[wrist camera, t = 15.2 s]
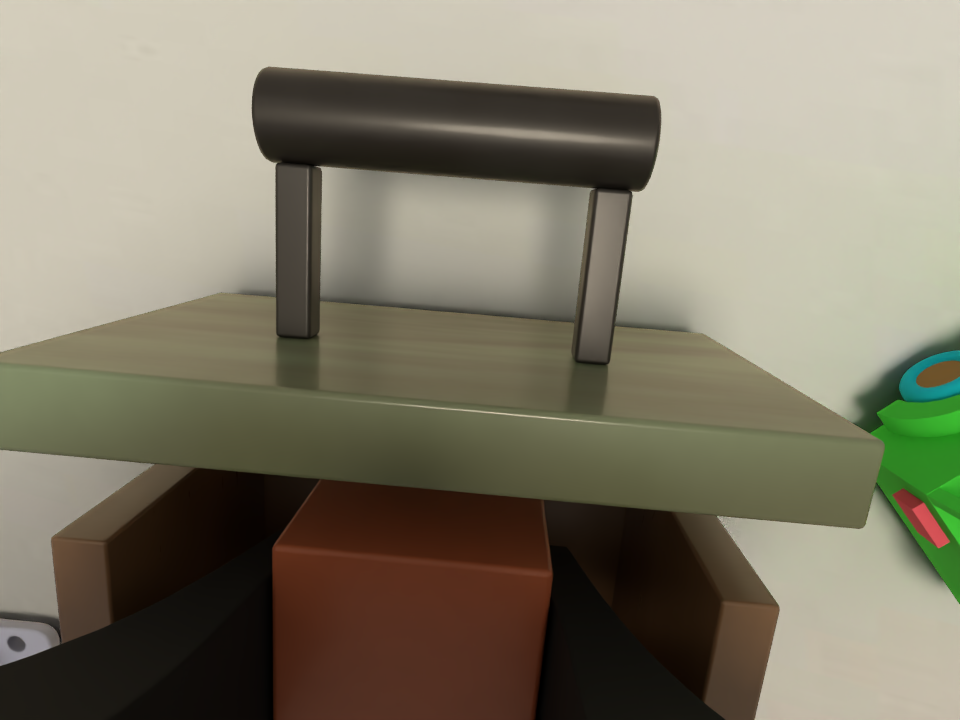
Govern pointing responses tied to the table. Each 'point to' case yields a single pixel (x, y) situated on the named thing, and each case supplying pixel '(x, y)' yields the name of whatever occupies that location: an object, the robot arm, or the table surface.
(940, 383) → the toy car
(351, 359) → the drawer
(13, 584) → the table surface
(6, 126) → the table surface
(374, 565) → the block
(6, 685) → the robot arm
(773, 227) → the table surface
